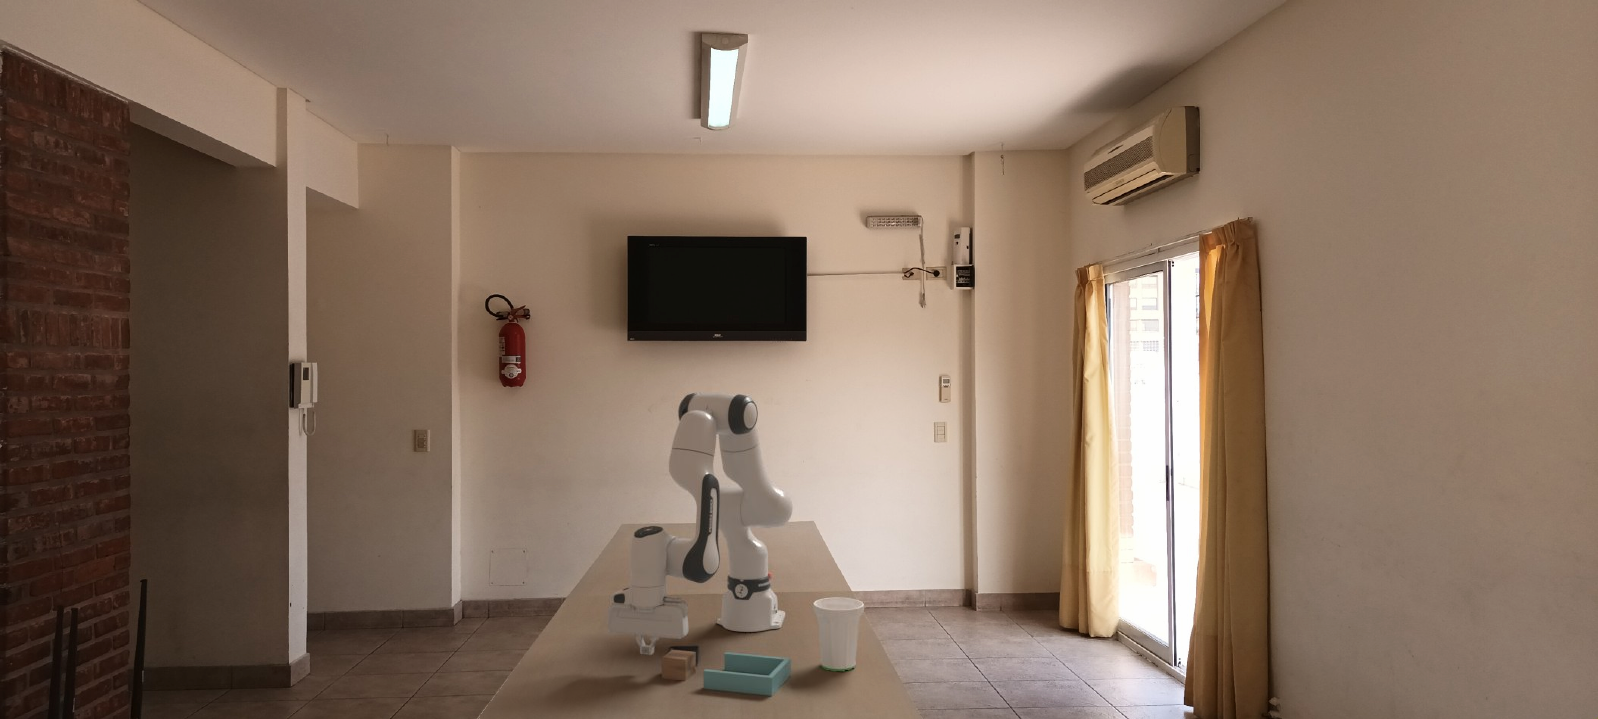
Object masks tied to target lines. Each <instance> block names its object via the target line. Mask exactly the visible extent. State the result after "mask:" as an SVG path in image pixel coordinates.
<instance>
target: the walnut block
mask: <svg viewBox="0 0 1598 719" xmlns="http://www.w3.org/2000/svg"><path fill="white" fill-rule="evenodd" d="M696 668H697V667H696V652H691V651H680V650H672V651H670V652H669V653H668V652H667V653H666V654H665V655H663V656H662V657H661V678H662V679H668V680H676V681H677V680H678V681H687V680H689V679H690V678H691V677H692V676H693V675H695V673H696Z"/></svg>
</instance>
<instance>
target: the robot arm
mask: <svg viewBox="0 0 1598 719" xmlns="http://www.w3.org/2000/svg"><path fill="white" fill-rule="evenodd" d="M677 413H678V415H677V416H678V421H679V423H678V425H677V428H676V430H675V434H674V437H673V440H672V445H671V449H670V454H669V459H668V460H669V461H668V472H669V475H670V476H671V478H672V480H673V481H674V482H675V484H677V486H679V487H681V488H682V489H684V490H685V491H687V492H688V493H689V494H690V495H691V496H692V497H693V498H694V500H695V503H696V515H695V516H696V517H695V518H696V519H695V535H694V537H693V538H685V537H680V536H675V535H673V534H670V533H668V532H667V531H665V529H664V528H663V527H662V526H657V525H650V526H643V527H640V528H638V529H636V530H635V531H634V533H633V534H632V536H631V542H630V546H629V569H630V579H629V583H628V585H629V587H625V588H623V589H620V590H618V591H615V592H613V593H611V595H609V602H610V604H609V606H608V608H607V611H606V612H607V614H606V629H607V630H608V633H612V634H623V635H633V636H635V641H636V642H637V644H638V647H639V654H641V655H649V656H652V655H654V654H655V646H656V644H657V643H658V641H659V640H660V638H667V639H678V640H681V639H683V638H685V637H686V636H688V634H689V620H688V619H689V618H688V613H689V605H688V603H687V602H686V601H685V600H683V598H681V597H677V598H675V597H672V596H671V597H670V596H667V576H669V577H673V578H678V579H684V580H687V581H691V582H694V583H697V584H703V583H706V582H708V581H709V580H710V579H711V578H712V577H714V576H715V574H716V573H717V572H718V570H719V567H720V564H721V562H720V561H721V557H720V549H719V548H720V546H719V533H720V532H721V534H722V536H723V538H724V541H725V543H726V547H727V551H728V552H727V554H728V555H727V556H728V575H727V579H726V586H727V591H726V592H725V593H723V594H722V595H723V596H722V603H721V617H719V618H717V619H716V624H718V625H720V626H722V627H723V628H724V629H725V630H729V631H733V632H740V633H743V632H744V633H745V632H746V633H750V632H751V633H753V632H755V633H756V632H762V631H768V630H775V629H776V630H777V629H781V627H782V625H783V622H784V620H785V617H786V612H785V611H783V610H780V609H778V596H777V594H775V593H774V591H773V589H771V580H772V576H773V575H772V572H769V551H768V548H767V546H766V544H765V543H764V542H763V541H762V540H760V539H758V538H757V537H756V536H755V535H754V534H753V532H752V530H751V528H760V529H761V528H763V529H771V528H779V527H783V526H785V525H786V524H787V523H788V522H789V521H790V519H791V516H792V515H793V503H792V500H791V497H790V496H789V495H788V493H787V492H785V491H784V490H782V489H781V488H780V487H779V486H778V485H776V484H775V482H774V481H773V480H772V478H771V477H770V475H769V473H768V472H767V470H766V468H765V466H764V462H763V461H764V460H763V457H762V451H761V446H760V439H759V433H758V429H757V425H756V424H757V423H758V413H759V412H758V406H757V404H756V403H755V401H754V399H752V398H751V397H749V396H747V395H745V394H734V393H728V392H705V393H704V392H703V393H702V392H693V393H689V394H687V395H685V397H684V398H683V399H682V400H681V402H680V404H679V406H678V412H677ZM717 435H718V445H719V450H720V451H719V453H720V457H721V464H722V470H723V472H724V474H725V476H726V477H727V478H728V479H729V480H731V481H733V482H734V483H735V484H737V485H738V486H723V487H720V483H719V479H717V477H716V476H715V472H714V460H715V459H714V458H715V454H716V445H717ZM719 531H720V532H719ZM645 636H646V637H649V641H651V642H650V644H649V645H648V644H646V642H645V640H644V638H645Z"/></svg>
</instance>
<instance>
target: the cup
mask: <svg viewBox="0 0 1598 719" xmlns="http://www.w3.org/2000/svg"><path fill="white" fill-rule="evenodd" d="M812 605H813V606H812V609H813V612H814V614H815V615H816V617H817V618H816V619H817V629H818V638H819V648H820V659H821V662H820V664H821V665H820V666H821V668H822V669H823V670H826V671H829V670H831V671H830V672H836V671H843V672H846V671H845V670H849V671H851V670H850V669H852V668H854V667H855V668H856V666H855V665H856V664H857V663H856V659H857V650H858V641H859V640H858V638H859V630H860V620H861V616H862V614H863V613H864V611H865V604H864V602H863V601H861V600H858V599H855V598H850V597H840V596H838V597H826V598H820V599H817V600H815V601H813V604H812ZM855 668H854V669H855ZM852 670H853V669H852Z"/></svg>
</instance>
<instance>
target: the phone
mask: <svg viewBox="0 0 1598 719" xmlns="http://www.w3.org/2000/svg"><path fill="white" fill-rule="evenodd" d="M700 648H701V647H700V645H699V646H698V645H678V646H677V645H674V646H673V645H672V646H670V647H669V648H668V652H667V653H669V652H670V651H672V650H680V651H691V652H696V668H697V667H698V663H699V658H700V656H699V655H700V650H701V649H700Z"/></svg>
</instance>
